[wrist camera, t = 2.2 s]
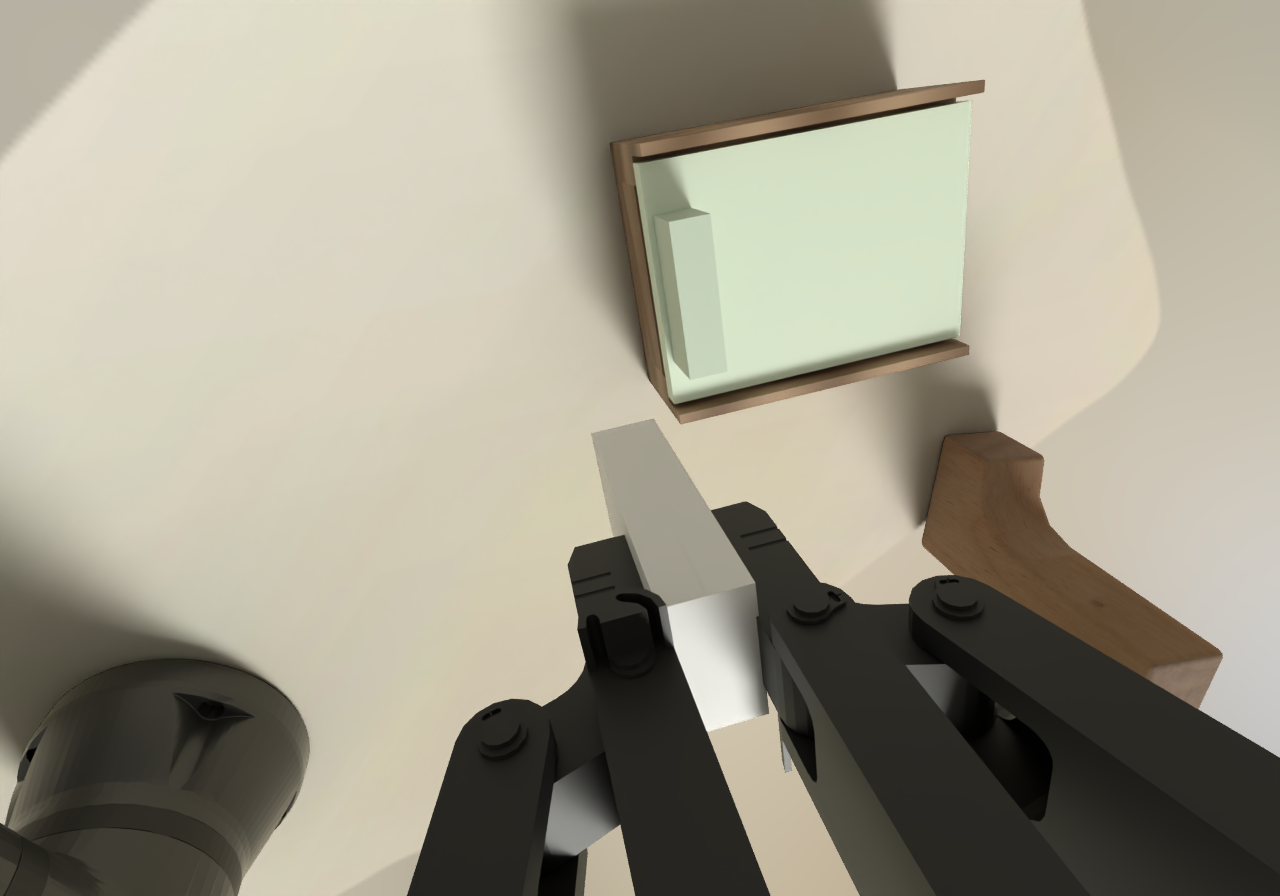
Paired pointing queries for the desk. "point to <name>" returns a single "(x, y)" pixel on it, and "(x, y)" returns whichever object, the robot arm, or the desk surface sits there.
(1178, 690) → the wooden block
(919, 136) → the lid
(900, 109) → the box
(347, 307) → the desk surface
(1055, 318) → the desk surface
